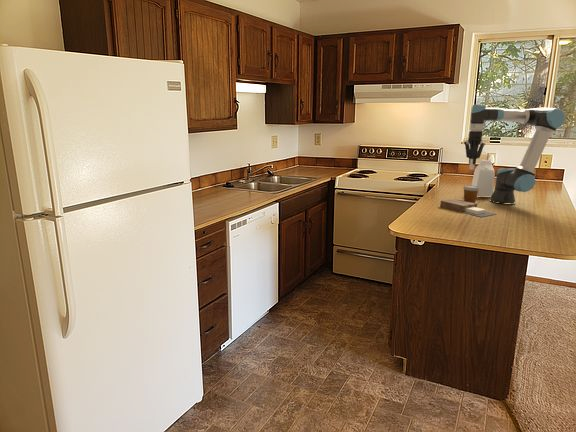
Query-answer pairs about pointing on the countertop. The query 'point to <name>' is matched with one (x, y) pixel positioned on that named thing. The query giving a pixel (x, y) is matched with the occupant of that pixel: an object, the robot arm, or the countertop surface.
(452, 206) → the walnut board
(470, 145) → the robot arm
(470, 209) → the coaster
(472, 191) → the disposable coffee cup
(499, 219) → the countertop surface
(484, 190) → the milk
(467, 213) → the rubber mat
